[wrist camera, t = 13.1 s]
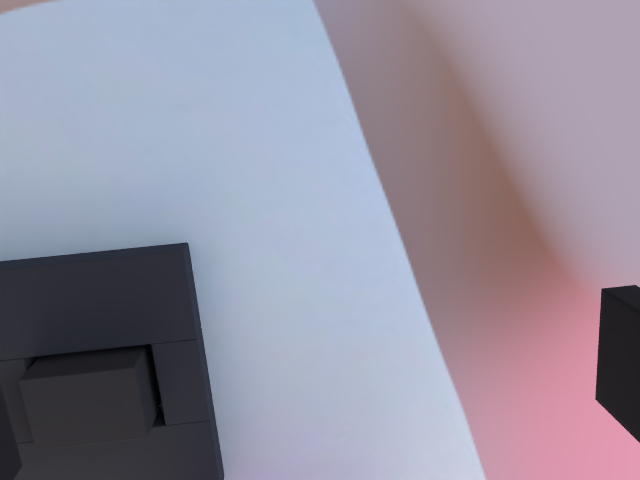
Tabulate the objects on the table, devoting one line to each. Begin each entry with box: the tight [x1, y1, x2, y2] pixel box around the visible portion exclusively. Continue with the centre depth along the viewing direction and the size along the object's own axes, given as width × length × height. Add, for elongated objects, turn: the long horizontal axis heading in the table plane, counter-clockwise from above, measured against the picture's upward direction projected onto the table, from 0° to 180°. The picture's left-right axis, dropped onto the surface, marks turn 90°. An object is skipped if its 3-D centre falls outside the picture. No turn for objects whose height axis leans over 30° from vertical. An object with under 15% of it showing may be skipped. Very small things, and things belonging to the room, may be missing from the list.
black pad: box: [18, 344, 161, 451], centre depth 36 cm, size 5×7×4 cm
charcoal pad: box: [0, 243, 224, 480], centre depth 37 cm, size 18×14×2 cm
